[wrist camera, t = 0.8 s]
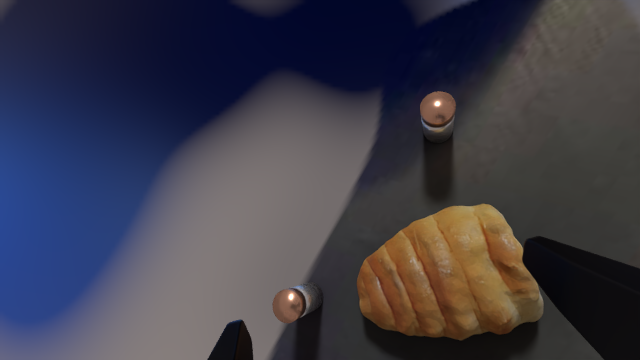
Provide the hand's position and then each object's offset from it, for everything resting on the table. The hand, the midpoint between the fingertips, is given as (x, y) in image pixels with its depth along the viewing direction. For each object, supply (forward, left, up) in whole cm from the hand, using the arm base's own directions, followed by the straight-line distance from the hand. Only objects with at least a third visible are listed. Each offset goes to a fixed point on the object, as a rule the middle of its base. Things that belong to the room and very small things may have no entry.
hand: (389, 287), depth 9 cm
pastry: (-2, -1, -11) cm, 11 cm away
